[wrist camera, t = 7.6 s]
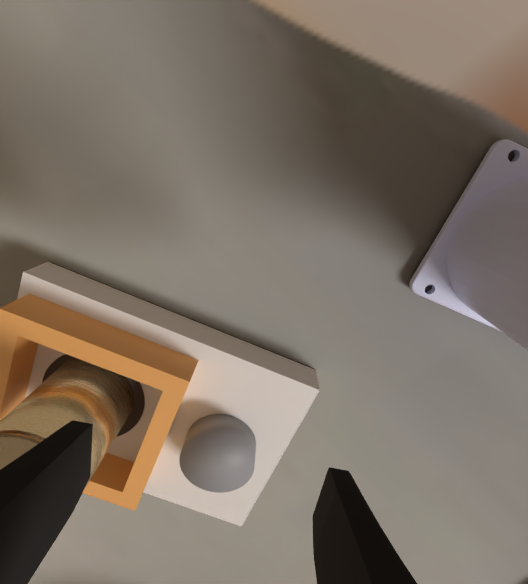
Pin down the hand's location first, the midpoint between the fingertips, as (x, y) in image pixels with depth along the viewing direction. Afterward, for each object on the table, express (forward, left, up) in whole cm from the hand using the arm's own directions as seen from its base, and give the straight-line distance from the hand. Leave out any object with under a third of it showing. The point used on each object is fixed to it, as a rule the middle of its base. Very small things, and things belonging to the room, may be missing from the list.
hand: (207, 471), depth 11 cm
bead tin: (+6, +6, -8) cm, 11 cm away
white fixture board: (+3, +6, -10) cm, 12 cm away
